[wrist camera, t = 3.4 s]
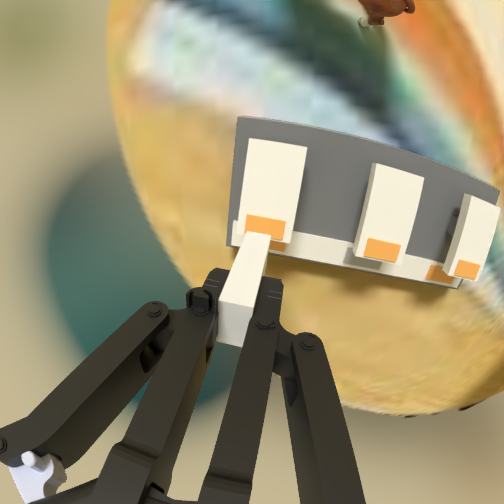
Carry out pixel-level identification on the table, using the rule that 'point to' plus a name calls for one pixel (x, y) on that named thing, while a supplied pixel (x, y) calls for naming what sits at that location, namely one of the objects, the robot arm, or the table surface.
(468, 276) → the switch
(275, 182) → the switch
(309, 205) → the switch panel
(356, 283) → the table surface
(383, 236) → the switch middle
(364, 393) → the table surface
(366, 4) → the bull figurine
